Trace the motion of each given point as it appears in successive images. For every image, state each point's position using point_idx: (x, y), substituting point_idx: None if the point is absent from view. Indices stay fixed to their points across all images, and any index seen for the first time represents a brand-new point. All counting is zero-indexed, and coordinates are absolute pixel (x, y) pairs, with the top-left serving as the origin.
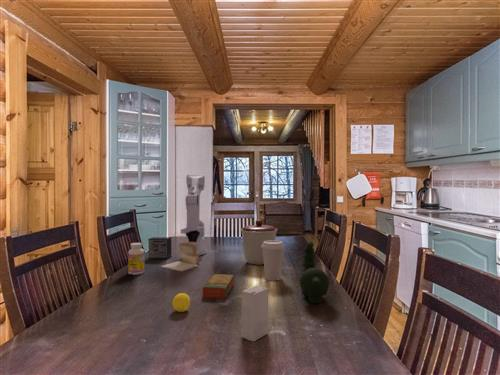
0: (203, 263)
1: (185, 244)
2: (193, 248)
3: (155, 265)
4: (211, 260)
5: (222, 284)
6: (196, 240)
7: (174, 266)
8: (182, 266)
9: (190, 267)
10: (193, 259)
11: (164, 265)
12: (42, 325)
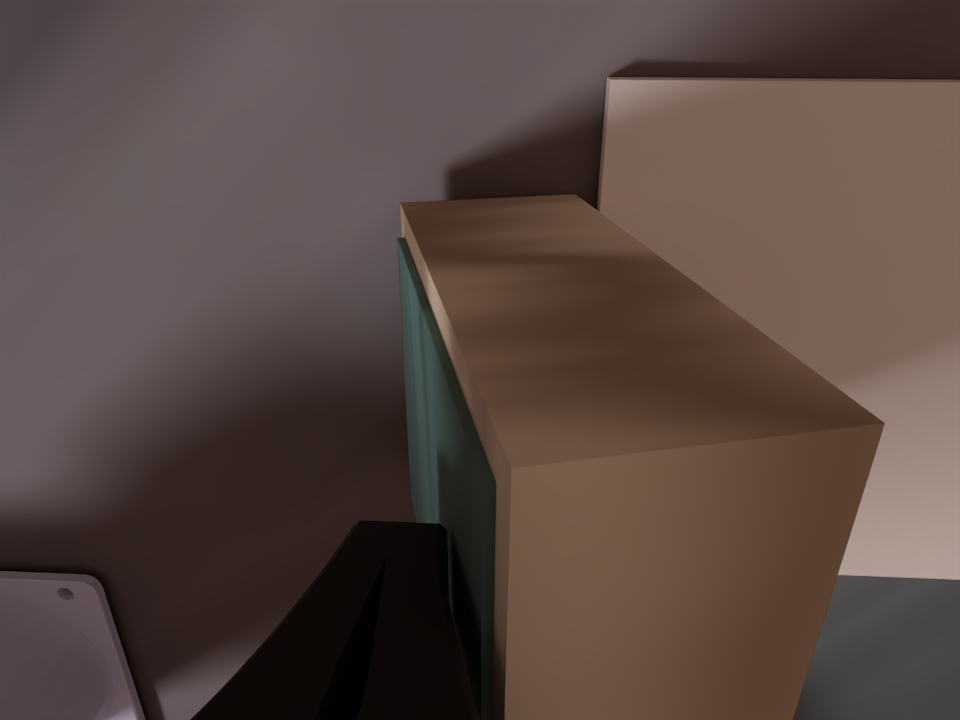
0: (358, 138)
1: (759, 697)
2: (689, 352)
3: (870, 678)
4: (66, 166)
5: None
6: (267, 662)
7: (920, 393)
8: (872, 269)
9: (861, 80)
10: (626, 235)
11: (913, 559)
12: None
